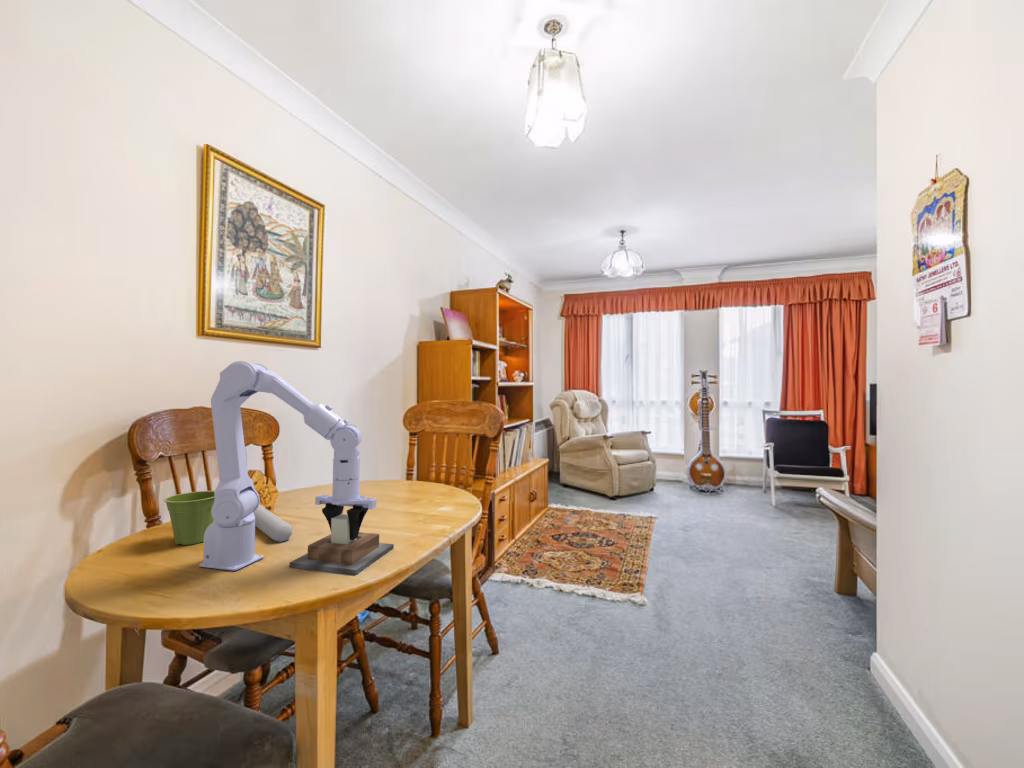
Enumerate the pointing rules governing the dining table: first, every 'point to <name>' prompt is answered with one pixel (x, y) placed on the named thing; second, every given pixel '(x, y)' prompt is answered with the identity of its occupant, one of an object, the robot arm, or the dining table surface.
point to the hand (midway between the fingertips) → (345, 537)
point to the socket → (343, 554)
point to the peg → (341, 530)
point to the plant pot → (190, 515)
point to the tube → (272, 524)
